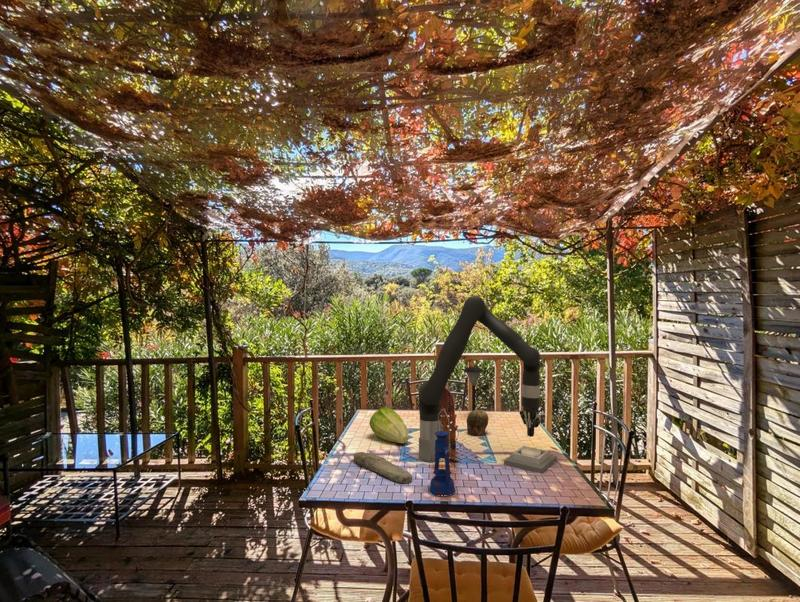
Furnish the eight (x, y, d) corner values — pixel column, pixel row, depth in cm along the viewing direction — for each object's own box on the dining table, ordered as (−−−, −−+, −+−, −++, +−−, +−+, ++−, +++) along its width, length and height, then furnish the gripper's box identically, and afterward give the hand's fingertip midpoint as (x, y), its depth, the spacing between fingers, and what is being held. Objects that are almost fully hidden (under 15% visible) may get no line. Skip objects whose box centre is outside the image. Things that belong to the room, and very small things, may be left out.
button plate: (541, 473, 181) (541, 462, 181) (504, 464, 191) (504, 454, 190) (557, 460, 195) (556, 450, 195) (521, 452, 205) (521, 442, 205)
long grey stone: (398, 491, 169) (418, 485, 176) (399, 477, 169) (419, 471, 176) (346, 460, 196) (365, 456, 202) (347, 448, 196) (365, 444, 202)
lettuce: (416, 451, 222) (388, 461, 214) (391, 422, 241) (364, 431, 233) (418, 426, 216) (389, 436, 208) (393, 399, 235) (365, 407, 227)
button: (536, 462, 187) (536, 455, 187) (518, 458, 192) (518, 451, 192) (543, 456, 193) (543, 449, 193) (525, 452, 198) (525, 445, 198)
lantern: (424, 487, 169) (424, 406, 168) (447, 483, 172) (446, 404, 172) (436, 499, 159) (436, 413, 159) (460, 494, 162) (460, 411, 162)
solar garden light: (481, 417, 263) (481, 365, 263) (487, 423, 251) (487, 369, 250) (460, 418, 262) (460, 366, 262) (465, 424, 250) (465, 369, 250)
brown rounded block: (488, 437, 227) (488, 413, 226) (466, 436, 228) (466, 412, 228) (488, 431, 237) (487, 408, 237) (466, 430, 239) (466, 407, 239)
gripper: (548, 397, 187) (548, 439, 188) (528, 391, 200) (527, 430, 200) (533, 399, 185) (533, 441, 185) (513, 392, 197) (513, 432, 197)
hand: (530, 436), depth 192 cm, fingers closed
